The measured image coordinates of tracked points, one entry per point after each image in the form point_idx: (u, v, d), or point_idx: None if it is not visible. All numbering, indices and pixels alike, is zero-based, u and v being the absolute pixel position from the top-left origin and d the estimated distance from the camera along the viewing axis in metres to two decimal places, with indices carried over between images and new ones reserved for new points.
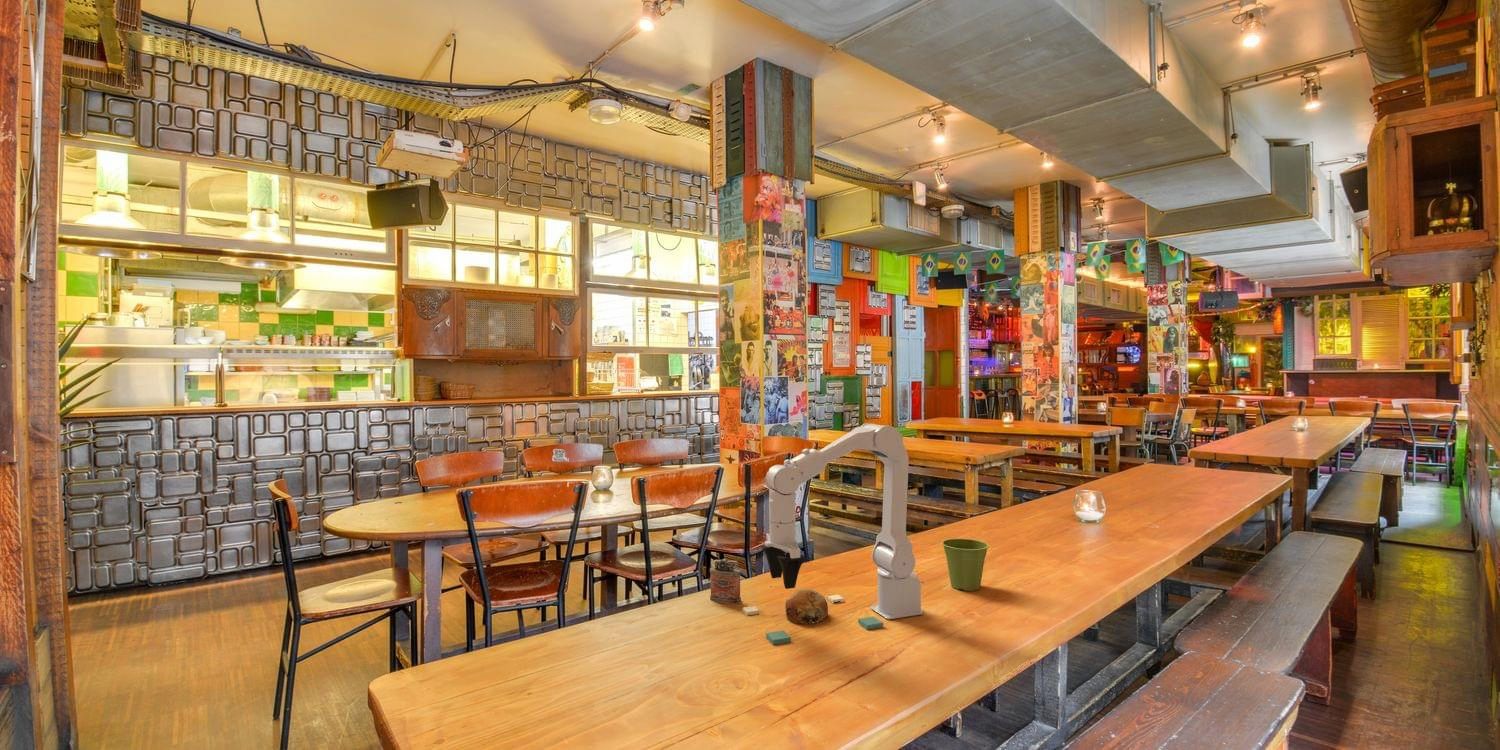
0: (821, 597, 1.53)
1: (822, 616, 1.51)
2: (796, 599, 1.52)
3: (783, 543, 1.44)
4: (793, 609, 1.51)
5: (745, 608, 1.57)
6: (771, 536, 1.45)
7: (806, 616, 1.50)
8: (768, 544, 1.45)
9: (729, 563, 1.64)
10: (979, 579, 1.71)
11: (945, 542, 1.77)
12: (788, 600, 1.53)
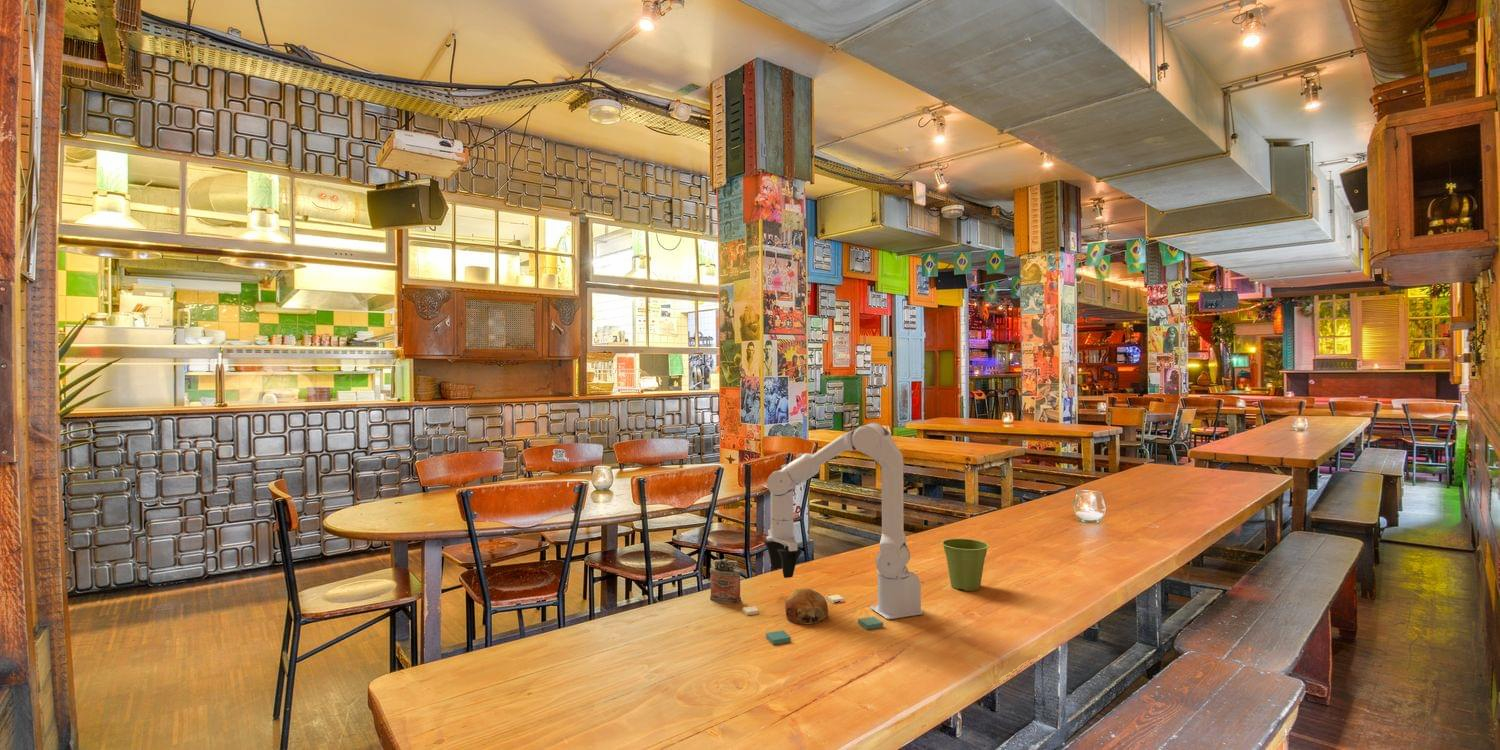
0: (821, 597, 1.53)
1: (822, 616, 1.51)
2: (796, 599, 1.52)
3: (782, 538, 1.64)
4: (793, 609, 1.51)
5: (745, 608, 1.57)
6: (772, 532, 1.66)
7: (806, 616, 1.49)
8: (769, 539, 1.65)
9: (729, 563, 1.64)
10: (979, 579, 1.71)
11: (945, 542, 1.77)
12: (788, 600, 1.53)
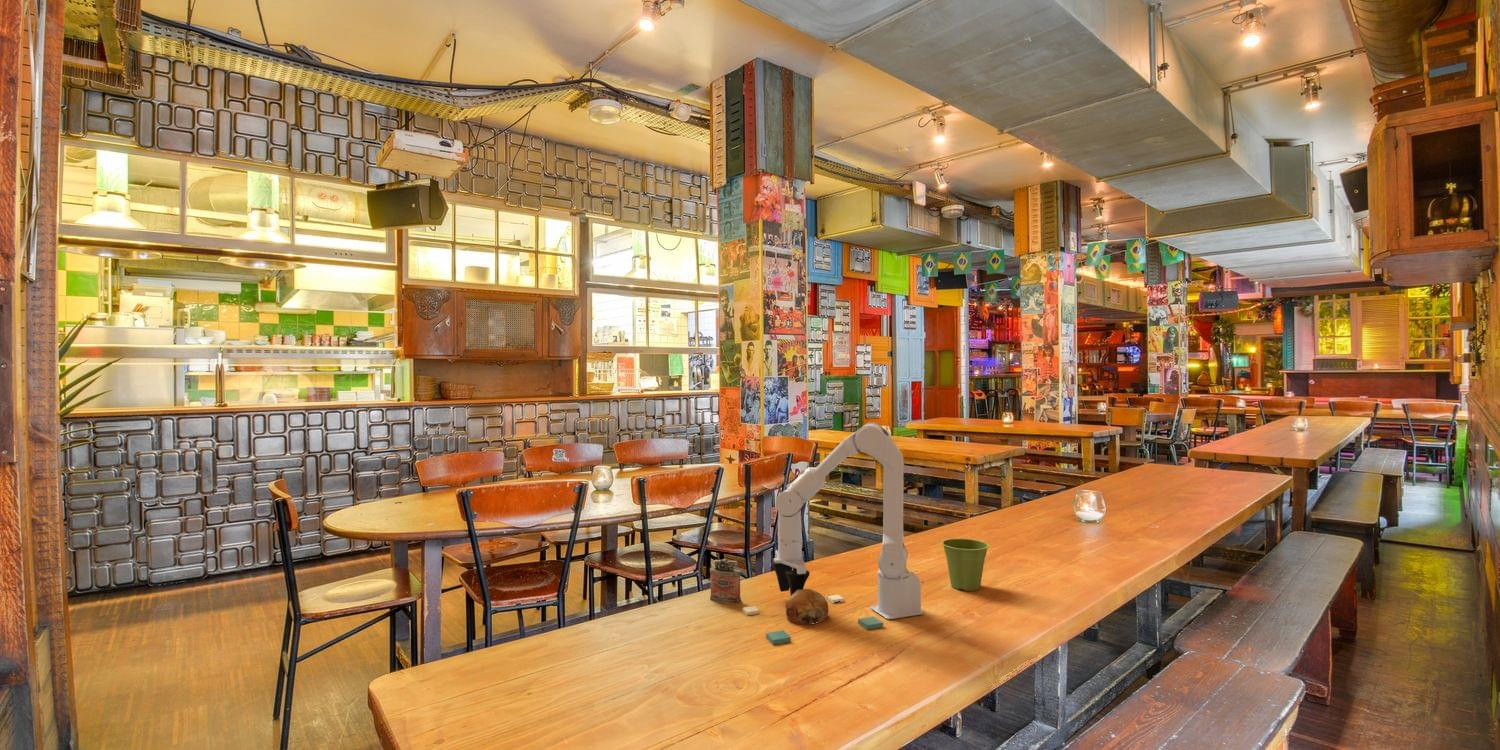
0: (821, 597, 1.53)
1: (822, 616, 1.50)
2: (796, 599, 1.51)
3: (790, 560, 1.60)
4: (793, 609, 1.50)
5: (745, 608, 1.57)
6: (780, 553, 1.61)
7: (806, 616, 1.49)
8: (777, 561, 1.60)
9: (729, 563, 1.64)
10: (979, 579, 1.71)
11: (945, 542, 1.77)
12: (788, 600, 1.53)
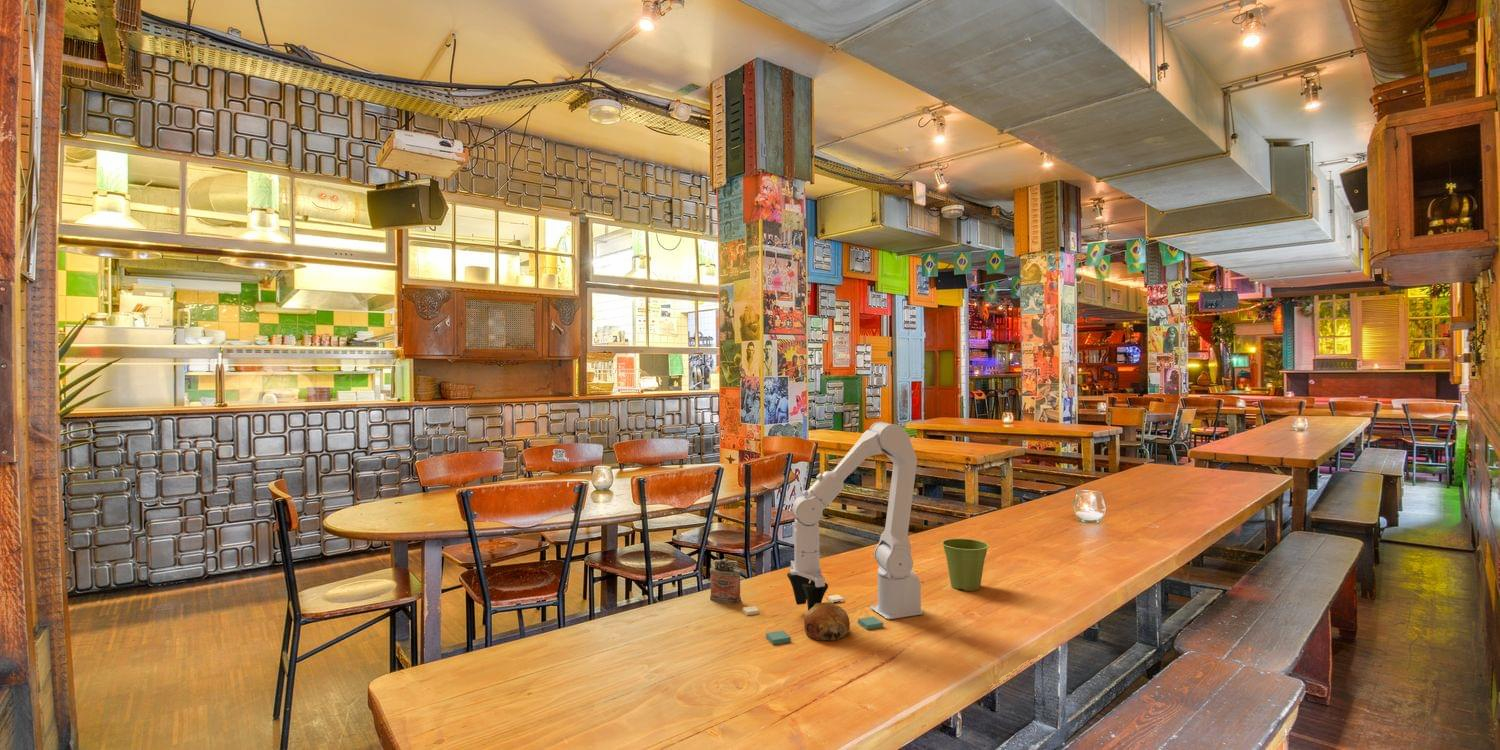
0: (842, 611, 1.44)
1: (844, 632, 1.41)
2: (817, 614, 1.42)
3: (808, 572, 1.50)
4: (814, 625, 1.41)
5: (745, 608, 1.57)
6: (796, 565, 1.52)
7: (828, 632, 1.40)
8: (793, 572, 1.51)
9: (729, 563, 1.64)
10: (979, 579, 1.71)
11: (945, 542, 1.77)
12: (807, 615, 1.44)
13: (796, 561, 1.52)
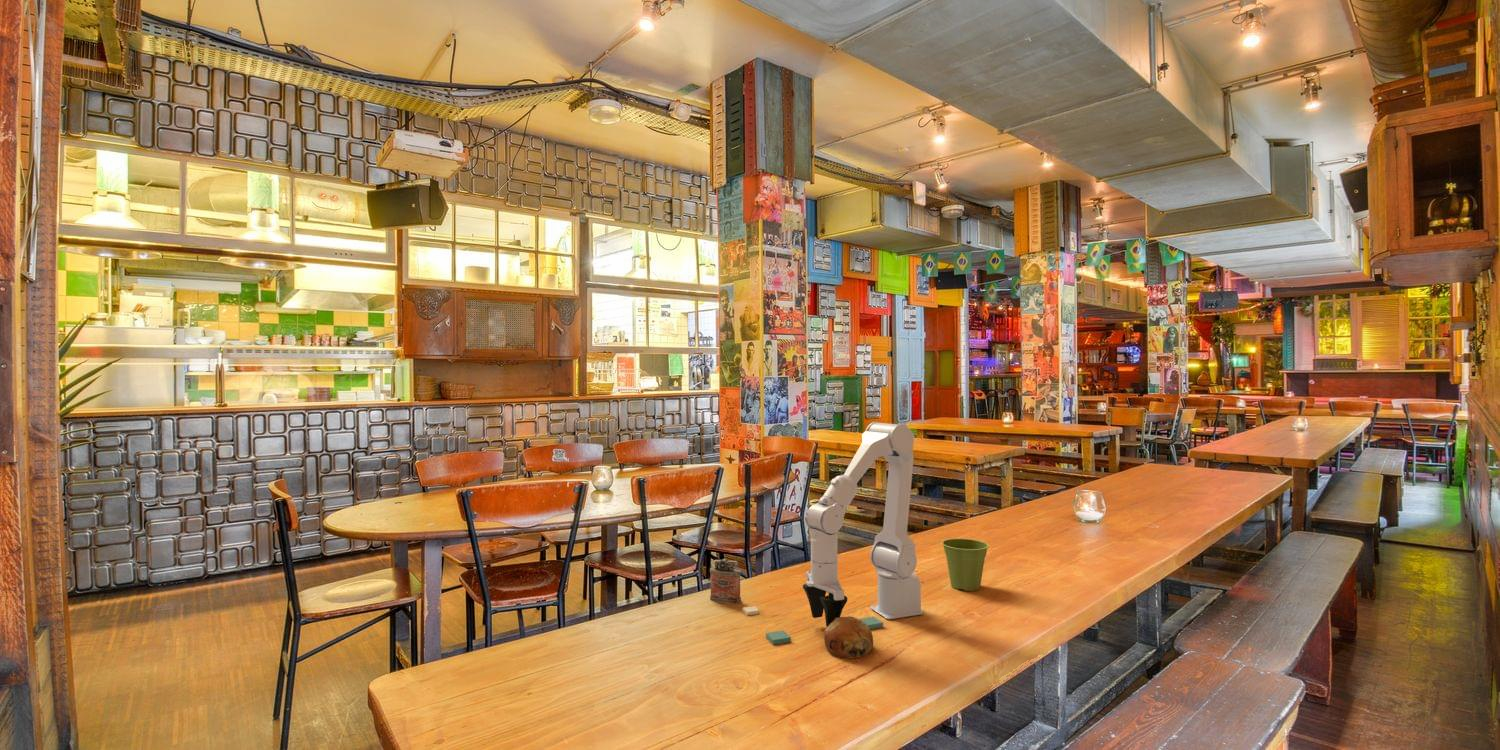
0: (866, 626, 1.36)
1: (869, 647, 1.33)
2: (840, 629, 1.34)
3: (826, 584, 1.42)
4: (838, 642, 1.32)
5: (745, 608, 1.57)
6: (813, 576, 1.43)
7: (853, 649, 1.32)
8: (810, 584, 1.43)
9: (729, 563, 1.64)
10: (979, 579, 1.71)
11: (945, 542, 1.77)
12: (829, 631, 1.35)
13: (813, 572, 1.43)
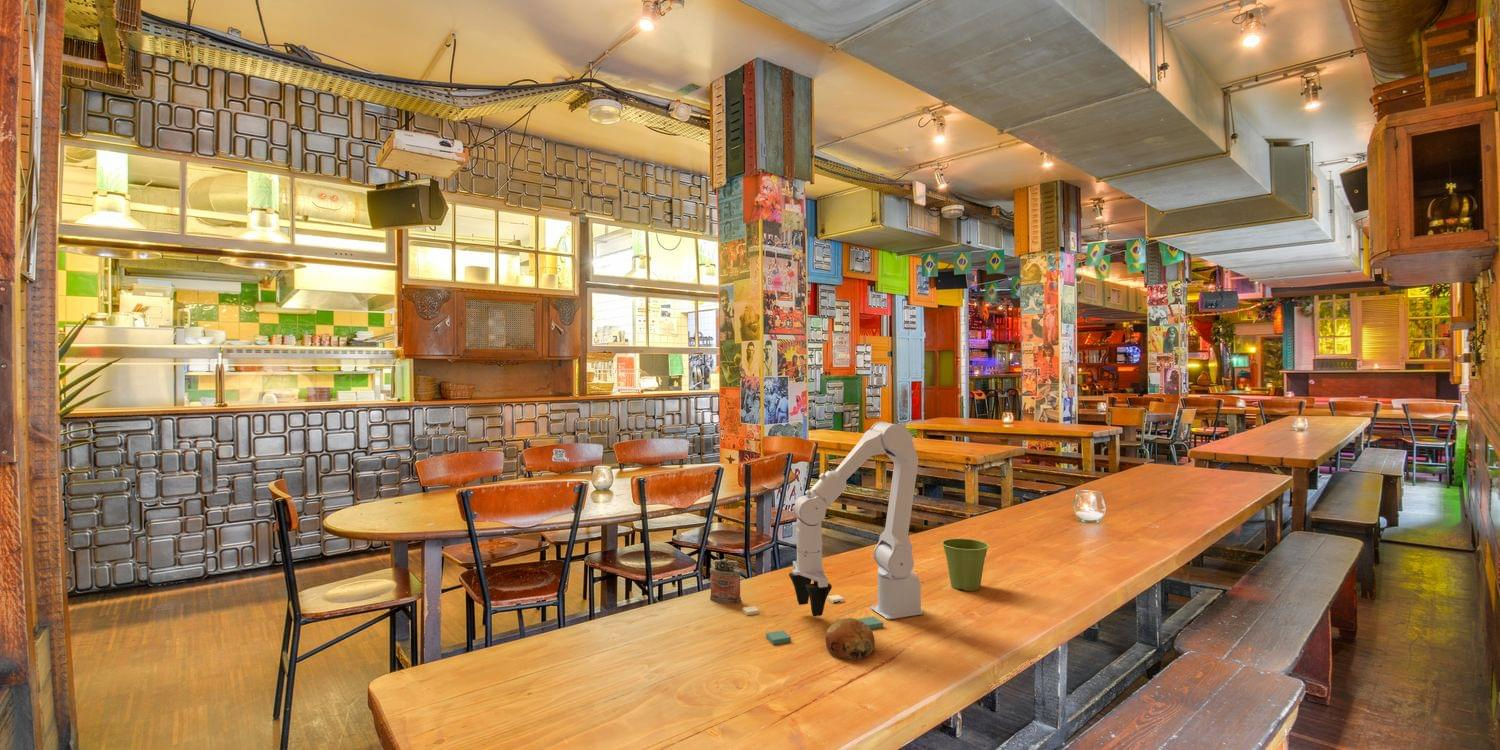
0: (867, 627, 1.35)
1: (871, 649, 1.33)
2: (841, 631, 1.33)
3: (810, 572, 1.49)
4: (839, 643, 1.32)
5: (745, 608, 1.57)
6: (799, 565, 1.51)
7: (855, 651, 1.31)
8: (796, 573, 1.50)
9: (729, 563, 1.64)
10: (979, 579, 1.71)
11: (945, 542, 1.77)
12: (830, 633, 1.34)
13: (798, 561, 1.51)
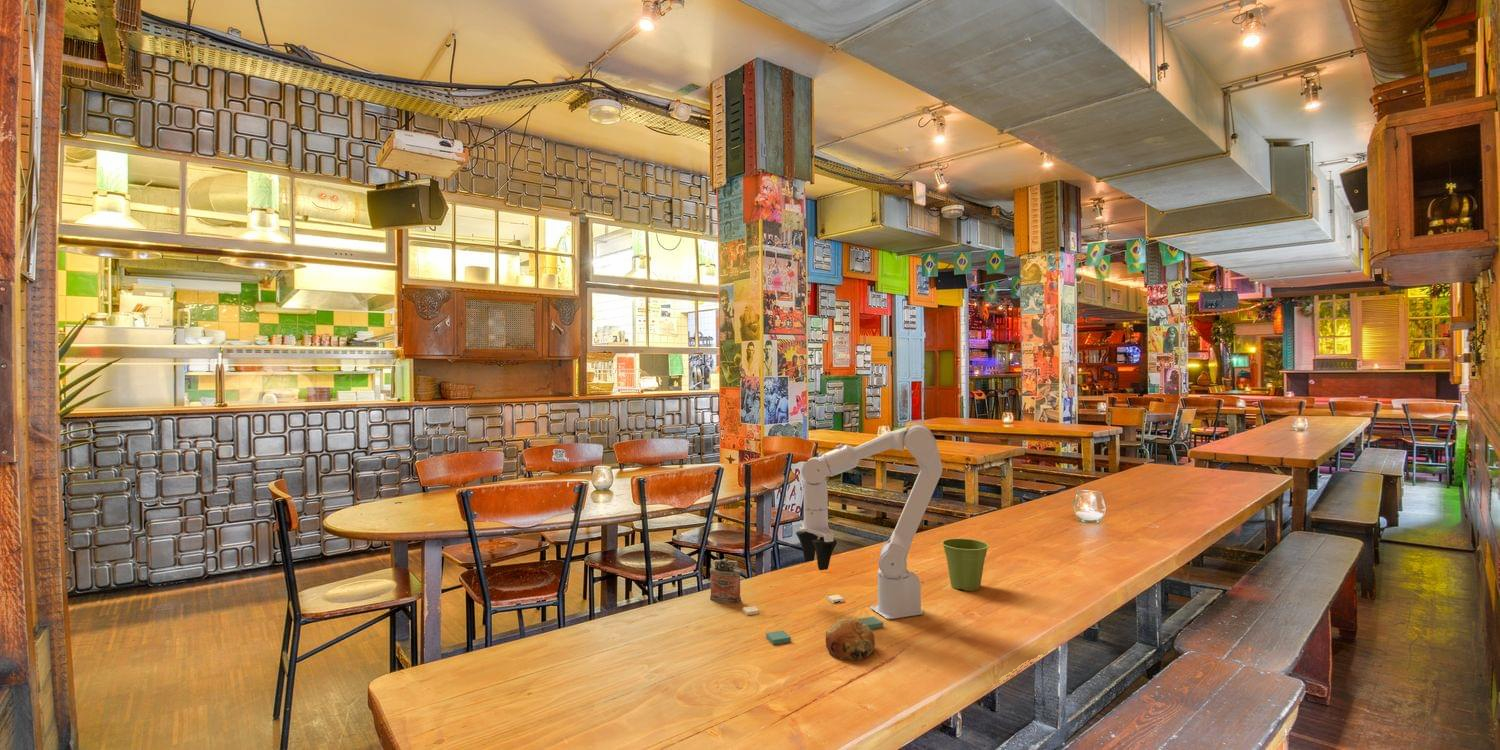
0: (867, 627, 1.35)
1: (871, 650, 1.33)
2: (841, 631, 1.33)
3: (817, 528, 1.57)
4: (839, 644, 1.32)
5: (745, 608, 1.57)
6: (806, 522, 1.59)
7: (855, 651, 1.31)
8: (803, 529, 1.58)
9: (729, 563, 1.64)
10: (979, 579, 1.71)
11: (945, 542, 1.77)
12: (830, 633, 1.34)
13: (805, 519, 1.59)
